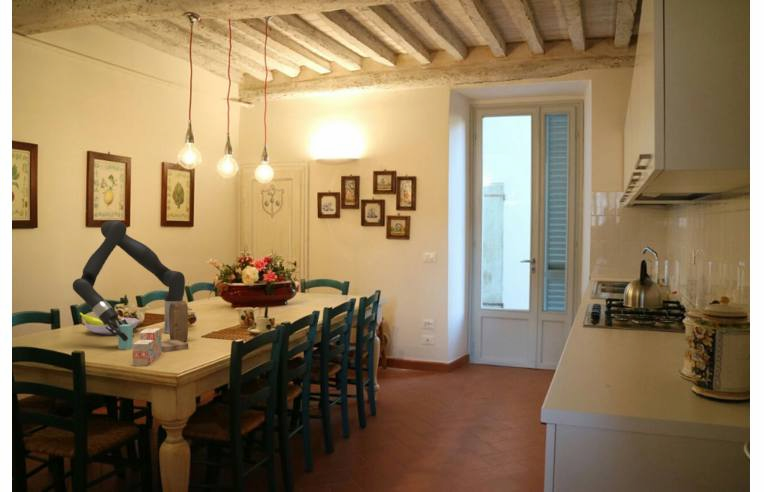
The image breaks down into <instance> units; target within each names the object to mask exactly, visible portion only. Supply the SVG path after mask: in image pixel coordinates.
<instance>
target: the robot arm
mask: <svg viewBox="0 0 764 492" xmlns="http://www.w3.org/2000/svg"><path fill="white" fill-rule="evenodd" d="M100 232H101V235H102V236H103V237H104V238H105V239H103V242H102V243H101V244H100V245H99V247H98V248H97V249H96V250H95V251H94V252H93V253H92V254H91V256H90V257H89V258H88V260H87V262H86V263H85V265H84V267H83V269H82V274H81V277H80V278H76V279H75V280H74V281H73V283H72V290H73V291H74V292H75V294H77V295H78V296H79V297H80V298H81V299H82V300H83V301H84V302H85V304H86V305H87V306H88V307H89V308H90V310H91V311H92V312H93V313H94V315H95V316H96V318H99V319H100V320H101V321H102V322H103V323H104V324H105V325H107V324H108V325H107V326H106V329H107V330H109V331H110V332H111V333H112V334H113V336H115V337H116V336H117V337H118V336H120V337H121V338H122V339H123V341H126V340H127V339H128V337H127V336H126V335H125V334H124V333H122V330H121V329H120V327H119V326H120V325H123V324H128V323H127V322H126V320H125V319H124V320H120V319H119V318H118V316H119V313H118V312H117V311H116V310H115V309H114V308H113V306H112V305H111V304H110V303H109V302H108V301H107V300H105V299H104V297H103V296H102V295H101V294H100V293H98V292H97V291H96V289H95V287H94V285H95V283H96V281H97V277H98V276H99V274H100V272H101V271H102V269H103V267H104V265H105V263H106V261H107V260H108V258H109V257H110V255H111V254H112V252H113V251H114V250H115V248H116V247H117V246H118V247H119V248H120V249H122V251H124V252H125V253H126V254H127V256H129V257H130V258H131V259H133V260H134V261H135V262H137V264H139V265H141V266H142V267H143V268H144V269H146V270H147V271H148V272H150V273H152V274H153V276H155V277H156V278H157V279H158V280H159V282H161V283H162V284H163V285H164V286H165V287H166V288H168V292H167V293H166V295H164V323H163V324H164V333H165V334H170V328H169V308H170V304H171V302H174V301H184V300H183V299H184V296H185V287H186V281H185V280H186V278H185V275H184V273H182V272H181V271H177V270H172V269H170V268H168V267H167V266H166V265H164V263H162V262H161V260H160V259H159V256H158V255H157V254H156V253H155V251H154V250H152V249H151V248H150V247H148V245H146V244H144V243H142V242H141V241H138V240H137V239H135V238H132V237H131V236H130V235H128V234H127V226H126V223H124V222H123V221H121V220H108V221H105V222H103V223H102V224H101V226H100ZM113 331H114V332H113ZM134 337H135V335H134V334H133V338H134Z"/></svg>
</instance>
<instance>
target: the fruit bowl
mask: <svg viewBox="0 0 764 492" xmlns="http://www.w3.org/2000/svg"><path fill="white" fill-rule="evenodd" d="M78 314H79V315H80V316H81V318H82V319H83V320H84V326H85V328H86V330H88V331H90V332H93V333H95V334H98V335H108V336H112V335H113V334H112V333H111V332H110V331H109V330H107V329H106V326H107V325H108V324H107V325H105V324H104V323H103V322H102V321H101V320H100V319H99V318H98V317H97V316H96V317H95V316H92V315H88V314H83V313H82V312H79V313H78ZM118 318H119V319H120V320H124V319H125V320H126V322H127V323H128V324H130V325H133V330H134V329H136V327H137V326H138V324H139V322H140V319H138V318H134V317H133V318H132V317H120V316H119V315H118ZM113 332H114V331H113ZM113 336H114V335H113Z"/></svg>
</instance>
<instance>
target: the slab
mask: <svg viewBox="0 0 764 492" xmlns="http://www.w3.org/2000/svg"><path fill="white" fill-rule="evenodd" d="M183 350H184V351H186V350H189V343H187V342H186V341H185V342H183V341H180V340H163V341H161V353H170V352H176V351H183Z"/></svg>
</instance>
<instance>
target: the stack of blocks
mask: <svg viewBox="0 0 764 492" xmlns="http://www.w3.org/2000/svg"><path fill="white" fill-rule="evenodd" d="M161 342H162V327H146V328H145V329H143V330H142V331H140V332H139V339H138V340H137V341H135V342H134V343H133V348H132V366H133V367H134V366H137V367H138V366H141V367H143V366H144V367H145V366H146V365H147V366H149V365H150V364H151V363H153V362H154V361H155V360H156V359H157V358H159V357H160V356H161V355H162V352H161ZM154 359H155V360H154ZM153 360H154V361H153ZM148 364H149V365H148Z"/></svg>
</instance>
